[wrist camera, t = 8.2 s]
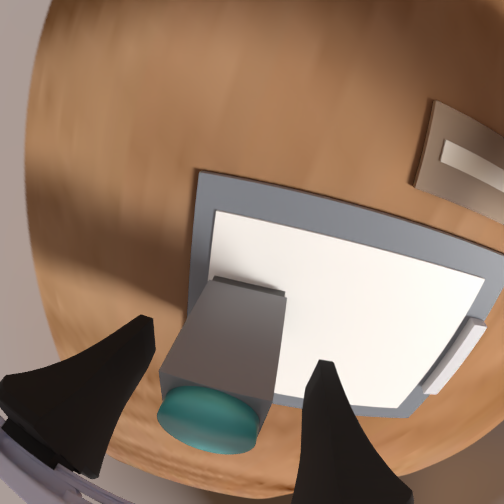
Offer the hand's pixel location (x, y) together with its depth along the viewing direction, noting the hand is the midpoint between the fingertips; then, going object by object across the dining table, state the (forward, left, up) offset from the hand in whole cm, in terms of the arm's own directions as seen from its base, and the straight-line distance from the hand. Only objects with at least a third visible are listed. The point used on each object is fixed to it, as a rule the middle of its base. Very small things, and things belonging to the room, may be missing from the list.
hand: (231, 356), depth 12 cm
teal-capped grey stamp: (0, 0, -3) cm, 3 cm away
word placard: (-9, -10, -4) cm, 14 cm away
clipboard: (-5, +1, -4) cm, 7 cm away
